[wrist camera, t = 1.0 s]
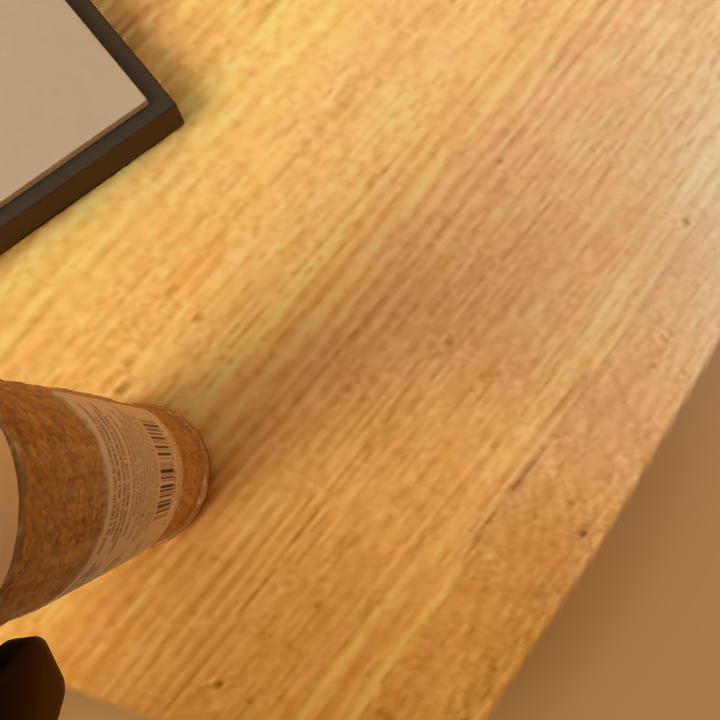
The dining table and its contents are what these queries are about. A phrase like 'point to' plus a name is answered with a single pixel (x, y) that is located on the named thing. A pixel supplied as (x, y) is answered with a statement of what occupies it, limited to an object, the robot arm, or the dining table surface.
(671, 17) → the dining table surface
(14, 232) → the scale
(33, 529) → the sprinkles bottle
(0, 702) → the robot arm
